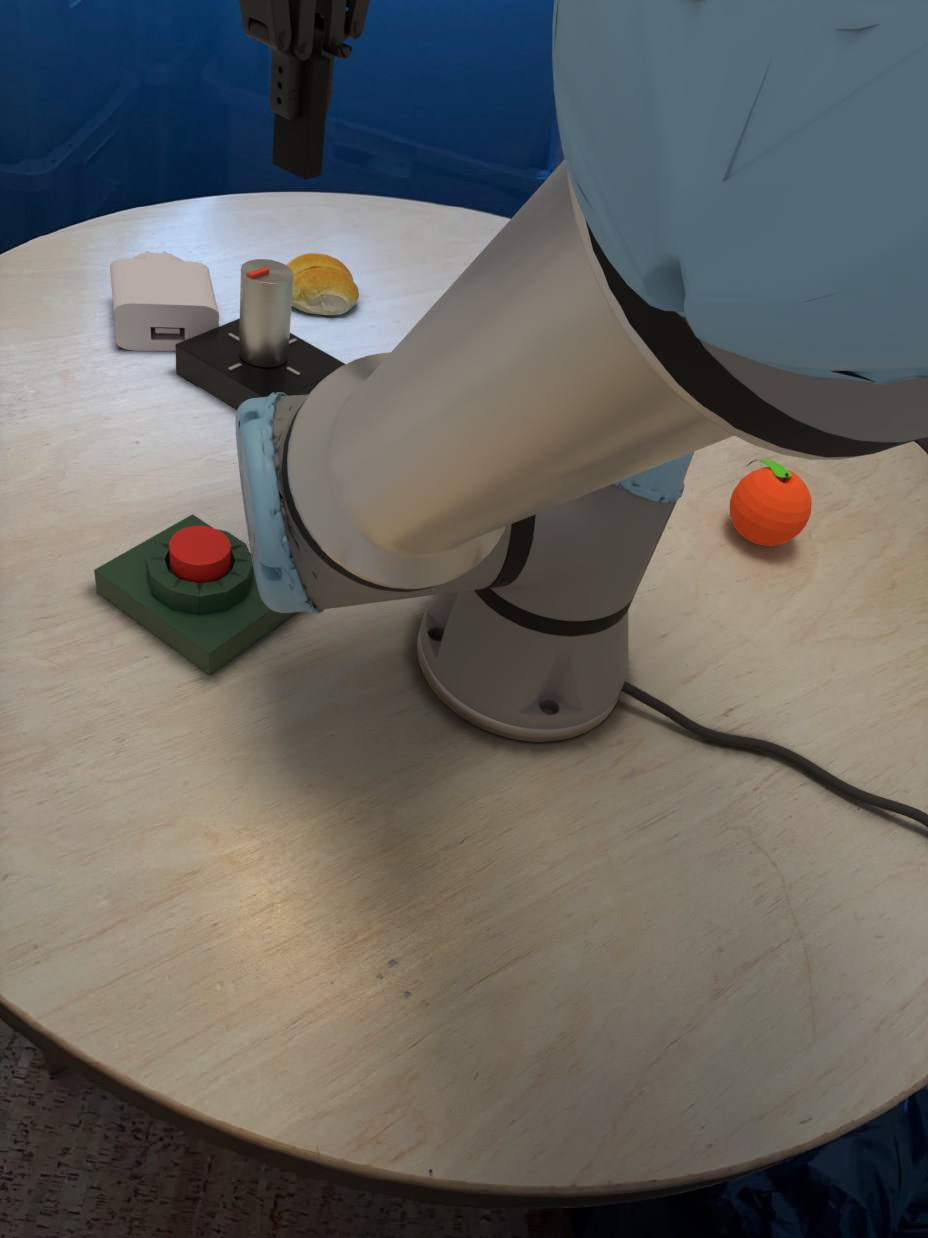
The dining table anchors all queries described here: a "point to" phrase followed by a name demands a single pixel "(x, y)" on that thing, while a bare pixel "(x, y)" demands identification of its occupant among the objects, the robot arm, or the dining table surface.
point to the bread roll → (322, 285)
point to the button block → (190, 600)
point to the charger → (161, 301)
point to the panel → (249, 367)
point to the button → (199, 554)
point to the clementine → (770, 505)
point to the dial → (265, 312)
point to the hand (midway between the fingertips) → (296, 168)
